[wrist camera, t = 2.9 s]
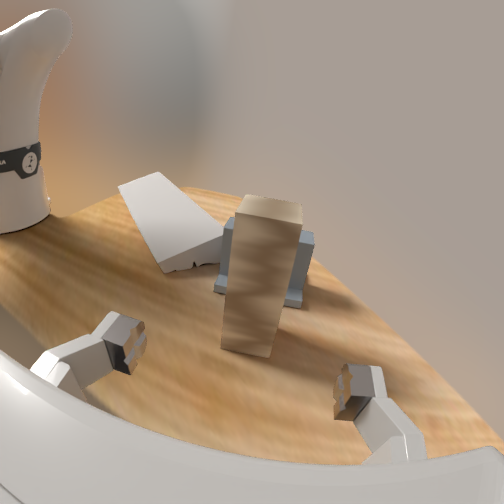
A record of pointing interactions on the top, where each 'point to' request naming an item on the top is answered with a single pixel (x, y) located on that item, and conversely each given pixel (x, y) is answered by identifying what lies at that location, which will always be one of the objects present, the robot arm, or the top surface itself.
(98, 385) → the top surface
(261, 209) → the ash post
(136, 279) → the top surface
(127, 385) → the top surface
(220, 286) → the ridge block
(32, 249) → the top surface
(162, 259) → the decorative molding
